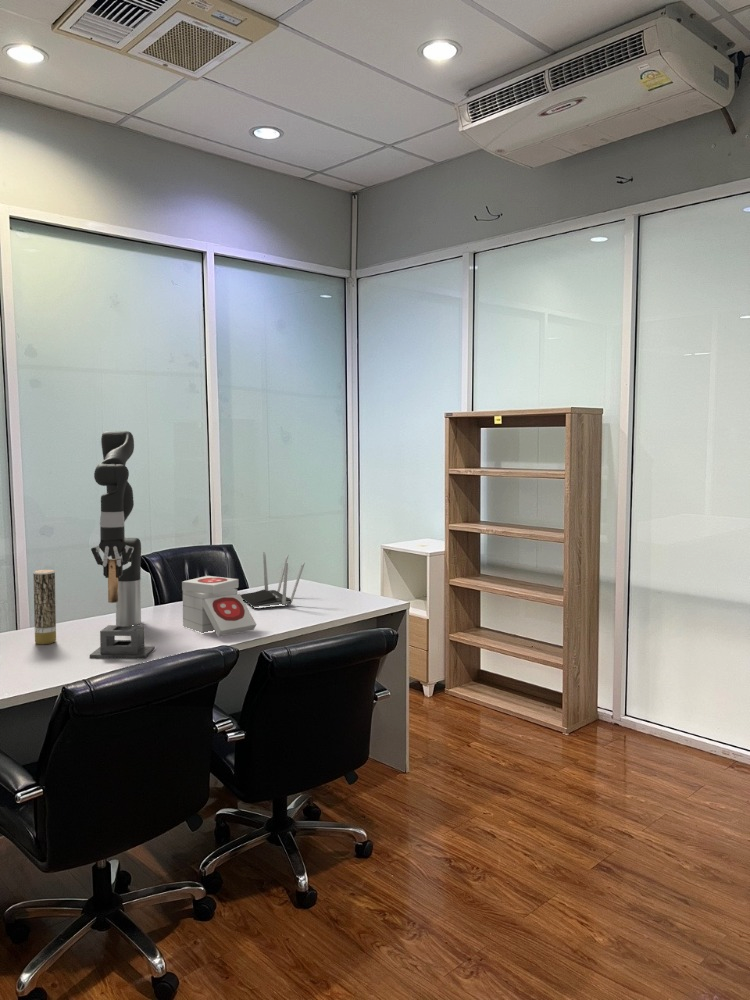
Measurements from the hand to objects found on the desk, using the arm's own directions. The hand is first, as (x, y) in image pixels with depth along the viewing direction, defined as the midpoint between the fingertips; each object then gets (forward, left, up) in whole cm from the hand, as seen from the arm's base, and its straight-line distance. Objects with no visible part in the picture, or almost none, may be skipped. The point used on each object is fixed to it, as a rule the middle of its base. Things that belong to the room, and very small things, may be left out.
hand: (113, 577), depth 252 cm
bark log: (-13, -28, -26) cm, 40 cm away
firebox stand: (0, +3, -26) cm, 26 cm away
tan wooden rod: (0, 0, -8) cm, 8 cm away
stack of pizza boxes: (-33, +28, -26) cm, 50 cm away
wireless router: (-82, +42, -26) cm, 96 cm away
